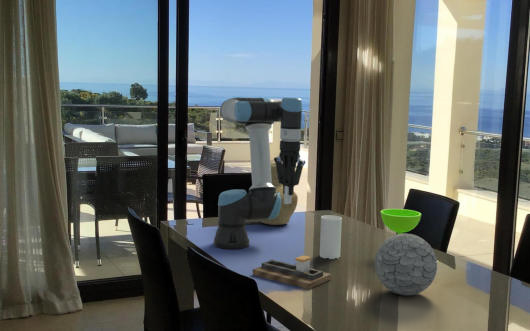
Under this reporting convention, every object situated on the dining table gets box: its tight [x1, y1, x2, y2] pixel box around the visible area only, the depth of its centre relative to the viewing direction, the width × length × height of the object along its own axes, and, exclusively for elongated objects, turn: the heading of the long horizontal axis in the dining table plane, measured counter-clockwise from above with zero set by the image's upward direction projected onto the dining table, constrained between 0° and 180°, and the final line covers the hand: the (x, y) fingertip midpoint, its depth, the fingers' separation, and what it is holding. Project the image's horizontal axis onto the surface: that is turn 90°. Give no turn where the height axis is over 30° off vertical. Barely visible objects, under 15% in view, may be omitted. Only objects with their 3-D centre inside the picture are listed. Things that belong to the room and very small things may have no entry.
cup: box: [319, 214, 343, 260], centre depth 234 cm, size 8×8×16 cm
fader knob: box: [294, 255, 312, 274], centre depth 203 cm, size 3×5×6 cm
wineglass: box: [380, 208, 422, 235], centre depth 236 cm, size 16×16×18 cm
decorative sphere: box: [374, 232, 438, 296], centre depth 190 cm, size 20×20×20 cm
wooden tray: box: [252, 259, 332, 290], centre depth 206 cm, size 24×14×4 cm, turn 53°
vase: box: [259, 162, 299, 226], centre depth 290 cm, size 22×22×30 cm
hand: (287, 203), depth 217 cm, fingers closed
